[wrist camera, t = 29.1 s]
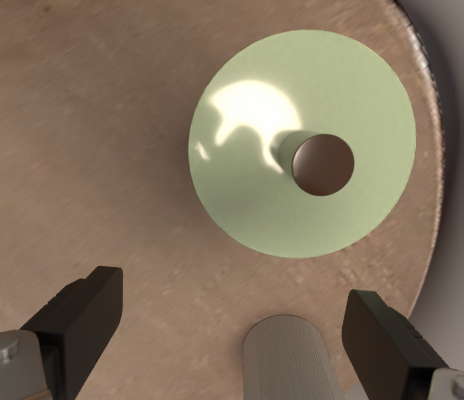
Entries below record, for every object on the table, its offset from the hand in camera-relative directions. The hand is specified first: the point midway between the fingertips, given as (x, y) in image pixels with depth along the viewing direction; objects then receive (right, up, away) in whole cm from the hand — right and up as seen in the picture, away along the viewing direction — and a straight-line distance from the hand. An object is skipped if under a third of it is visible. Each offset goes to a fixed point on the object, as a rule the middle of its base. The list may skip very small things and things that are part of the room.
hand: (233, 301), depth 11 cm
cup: (+6, -13, +24) cm, 28 cm away
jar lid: (+4, +6, +8) cm, 11 cm away
